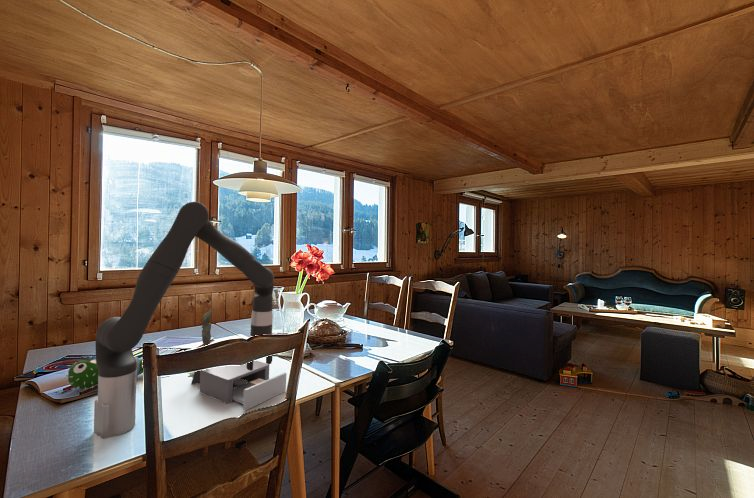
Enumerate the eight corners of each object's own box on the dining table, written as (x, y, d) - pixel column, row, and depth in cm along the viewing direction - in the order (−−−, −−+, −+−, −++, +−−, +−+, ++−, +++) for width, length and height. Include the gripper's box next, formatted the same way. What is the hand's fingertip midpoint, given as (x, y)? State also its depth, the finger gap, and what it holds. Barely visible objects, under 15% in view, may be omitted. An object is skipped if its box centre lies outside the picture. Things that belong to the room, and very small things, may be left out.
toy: (170, 351, 141) (73, 362, 119) (168, 380, 139) (70, 397, 117) (151, 350, 155) (61, 359, 133) (149, 376, 153) (58, 390, 131)
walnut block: (257, 397, 125) (258, 385, 125) (249, 394, 128) (249, 382, 128) (267, 393, 129) (267, 381, 129) (258, 390, 132) (259, 378, 131)
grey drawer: (285, 390, 135) (286, 373, 134) (245, 410, 118) (245, 390, 118) (257, 381, 142) (258, 364, 142) (216, 398, 126) (216, 379, 126)
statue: (195, 377, 144) (197, 305, 144) (215, 376, 146) (217, 305, 146) (190, 384, 137) (193, 308, 137) (211, 383, 139) (214, 308, 139)
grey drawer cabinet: (268, 385, 139) (269, 364, 139) (227, 403, 123) (228, 380, 123) (241, 376, 147) (242, 356, 147) (199, 392, 131) (200, 369, 131)
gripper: (252, 327, 120) (250, 374, 120) (283, 321, 132) (281, 363, 132) (238, 324, 123) (236, 369, 124) (269, 318, 136) (267, 359, 136)
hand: (259, 366), depth 128 cm, fingers open, 8 cm apart
